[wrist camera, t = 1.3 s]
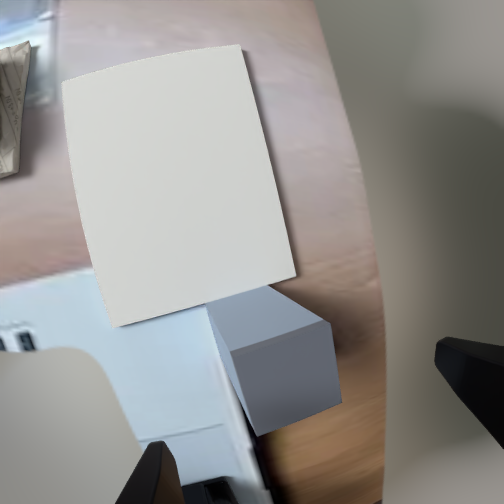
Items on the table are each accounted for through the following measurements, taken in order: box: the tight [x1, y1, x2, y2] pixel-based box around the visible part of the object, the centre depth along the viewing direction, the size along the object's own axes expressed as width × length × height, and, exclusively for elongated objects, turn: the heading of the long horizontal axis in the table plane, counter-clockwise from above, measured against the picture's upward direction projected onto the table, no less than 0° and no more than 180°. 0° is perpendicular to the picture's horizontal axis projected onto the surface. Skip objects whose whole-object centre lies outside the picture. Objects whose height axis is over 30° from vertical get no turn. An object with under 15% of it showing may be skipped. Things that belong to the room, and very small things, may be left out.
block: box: [205, 285, 342, 436], centre depth 16 cm, size 4×4×9 cm
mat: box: [61, 44, 296, 328], centre depth 19 cm, size 16×12×1 cm
